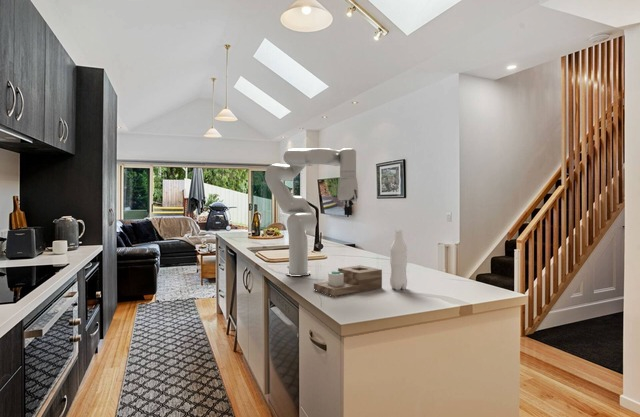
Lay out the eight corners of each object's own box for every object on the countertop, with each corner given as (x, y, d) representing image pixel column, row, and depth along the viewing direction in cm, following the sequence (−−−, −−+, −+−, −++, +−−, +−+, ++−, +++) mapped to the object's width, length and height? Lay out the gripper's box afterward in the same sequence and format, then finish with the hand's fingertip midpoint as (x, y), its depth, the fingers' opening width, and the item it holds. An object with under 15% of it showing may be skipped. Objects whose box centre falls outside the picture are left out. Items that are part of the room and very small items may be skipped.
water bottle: (408, 290, 162) (408, 231, 161) (391, 290, 162) (391, 231, 161) (405, 286, 169) (405, 229, 168) (388, 286, 169) (388, 229, 168)
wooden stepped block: (313, 290, 163) (313, 271, 163) (360, 282, 178) (360, 265, 178) (333, 297, 151) (333, 276, 151) (381, 288, 166) (381, 269, 166)
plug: (328, 289, 162) (328, 271, 161) (337, 288, 164) (336, 270, 164) (334, 291, 158) (334, 272, 158) (343, 290, 160) (343, 271, 160)
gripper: (331, 176, 183) (332, 214, 183) (352, 174, 171) (352, 215, 171) (344, 176, 187) (344, 214, 188) (364, 175, 175) (365, 215, 176)
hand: (348, 215), depth 179 cm, fingers closed
